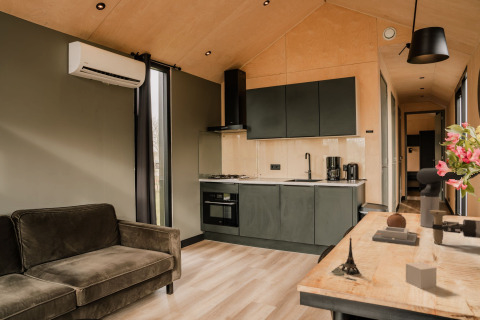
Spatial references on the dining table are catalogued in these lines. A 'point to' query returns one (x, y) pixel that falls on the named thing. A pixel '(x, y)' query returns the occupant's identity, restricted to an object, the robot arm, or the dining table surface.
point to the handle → (439, 221)
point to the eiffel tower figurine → (348, 264)
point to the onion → (396, 221)
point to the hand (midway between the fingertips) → (432, 225)
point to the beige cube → (421, 275)
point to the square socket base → (395, 236)
